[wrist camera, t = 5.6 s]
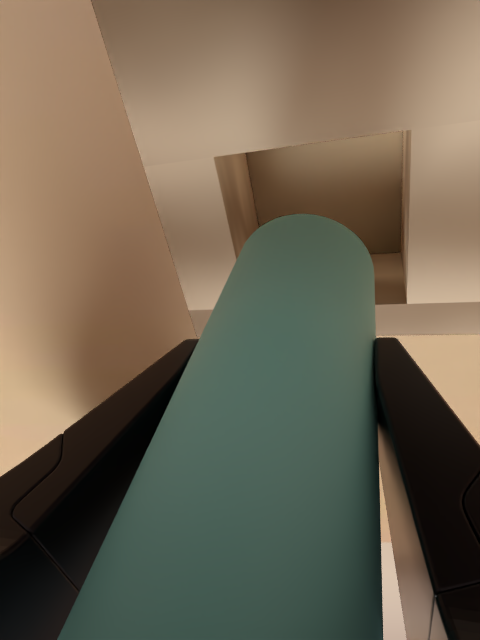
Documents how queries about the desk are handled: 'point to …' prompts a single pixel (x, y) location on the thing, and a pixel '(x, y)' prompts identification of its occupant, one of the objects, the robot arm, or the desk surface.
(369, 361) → the peg
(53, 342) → the desk surface
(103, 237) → the desk surface
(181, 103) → the socket block
